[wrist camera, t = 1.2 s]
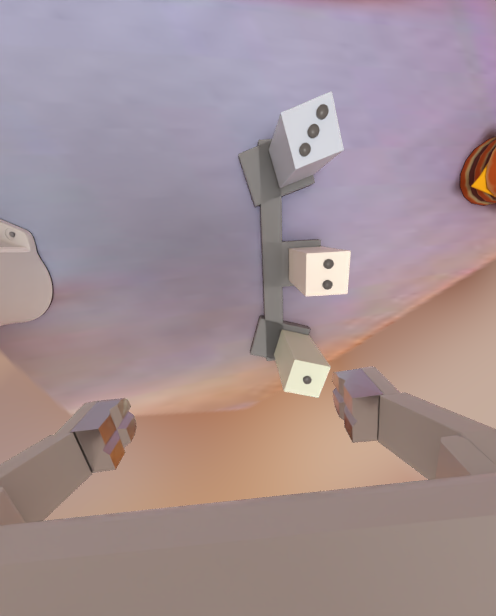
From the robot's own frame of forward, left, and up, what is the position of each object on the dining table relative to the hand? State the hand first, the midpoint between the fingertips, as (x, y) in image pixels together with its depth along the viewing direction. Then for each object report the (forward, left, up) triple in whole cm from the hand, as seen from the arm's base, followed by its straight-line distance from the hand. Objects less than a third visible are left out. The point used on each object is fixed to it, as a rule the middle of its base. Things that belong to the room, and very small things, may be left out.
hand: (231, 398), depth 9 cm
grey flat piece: (+5, +5, -31) cm, 31 cm away
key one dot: (+15, -5, -29) cm, 33 cm away
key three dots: (-3, +17, -29) cm, 34 cm away
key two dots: (+7, +8, -29) cm, 31 cm away
